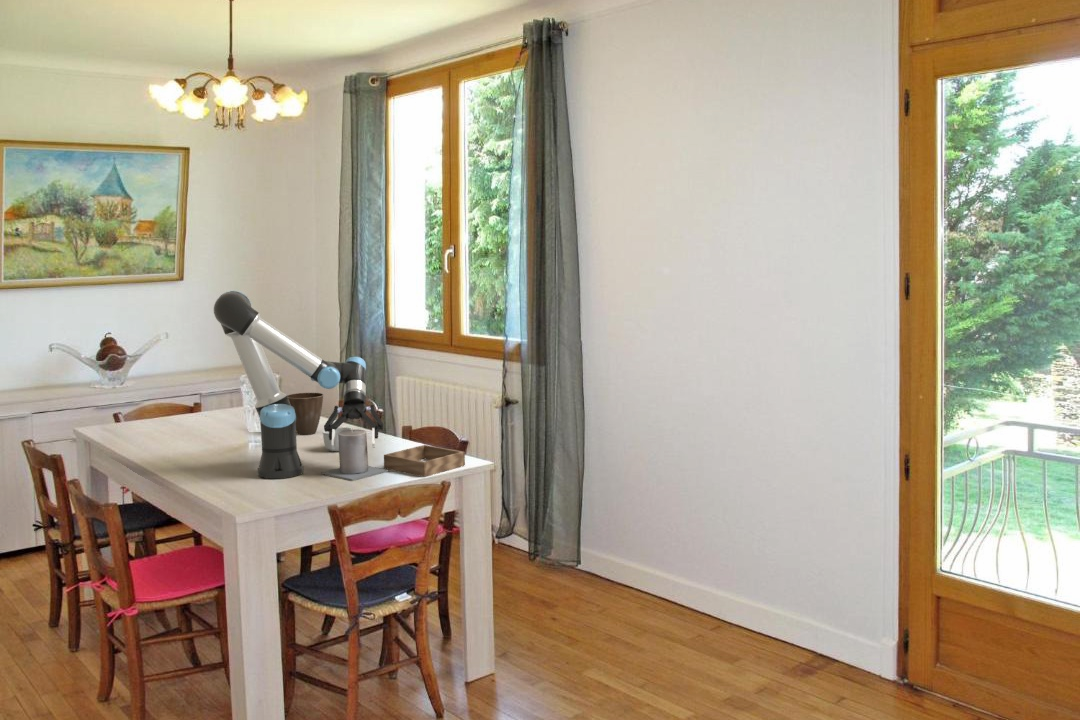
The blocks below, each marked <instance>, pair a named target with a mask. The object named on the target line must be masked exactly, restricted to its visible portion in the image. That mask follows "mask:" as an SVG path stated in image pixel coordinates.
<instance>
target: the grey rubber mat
mask: <svg viewBox="0 0 1080 720" xmlns="http://www.w3.org/2000/svg"><path fill="white" fill-rule="evenodd" d="M388 472H389V470H388V469H384V468H380V467H376V466H369V465H368V471H366V472H364V473H357V474H343V473H341V472H340V467H338V468H334V469H330V470H329V469H328V470H326V471H322V472H321V475H323V474H325V475H324V476H327V475H330V476H329V477H332V476H334V477H333V478H337V477H338V478H337V479H341V478H342V480H347V481H351V482H354V481H357V480H361V479H365V478H368V477H372V476H376V475H379V474H384V473H388Z"/></svg>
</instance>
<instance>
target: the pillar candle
mask: <svg viewBox="0 0 1080 720" xmlns="http://www.w3.org/2000/svg"><path fill="white" fill-rule="evenodd" d="M367 439H368V437H367V430H364V429H356V428H355V429H353V428H351V430H344V431H341V432H339V433H338V440H339V451H338V455H339V457H338V459H339V468H340V472H341V473H343V474H357V473H364V472H366V471H368V466H369V460H368V459H369V458H368V457H369V454H368V440H367Z"/></svg>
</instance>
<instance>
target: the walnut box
mask: <svg viewBox="0 0 1080 720" xmlns="http://www.w3.org/2000/svg"><path fill="white" fill-rule="evenodd" d="M423 460H424V461H423ZM464 465H465V466H466V454H465V451H464V450H463V451H462V450H457V449H451V448H444V447H440V446H439V447H438V446H433V445H427V444H423V445H419V446H414V447H410V448H406V449H403V450H398V451H394V452H390V453H386V454H383V469H386V470H388V471H393V472H397V473H402V474H408V475H413V476H418V477H422V478H426V477H429V476H433V474H434V475H437V474H440V472H441V473H443V472H448V471H451V470H455V469H458V468H462V467H464ZM461 466H462V467H461ZM447 470H448V471H447ZM436 473H437V474H436Z"/></svg>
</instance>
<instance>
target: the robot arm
mask: <svg viewBox="0 0 1080 720" xmlns="http://www.w3.org/2000/svg"><path fill="white" fill-rule="evenodd" d="M213 314H214V317H215V320H217V322H218V323H219V324H220V325H221V328H222V330H223V332H224V334H225V336H226V337H229V338H230V339H231V341H232V342H233V345H234V348H235V350H236V352H237V355H238V357H239V360H240V362H241V365H242V367H243V370H244V372H245V374H246V377H247V379H248V381H249V384H250V386H251V389H252V391H253V394H254V395H255V399H256V403H255V404H254V405H255V406H254V407H255V409H256V412H257V414H258V418H259V421H260V435H261V436H260V437H261V438H260V439H261V456H260V459H259V463H258V467H257V476H258V477H259V476H260V477H259V478H261V477H264V478H263V479H268V478H280V479H287V477H289V478H294V477H297V475H298V476H301V473H302V474H303V473H304V465H303V464H302V460H301V458H300V456H299V452H298V448H297V445H298V444H297V431H296V413H295V409H294V408H293V407H292V406H291V404H290V402H289V399H288V397H287V395H288V394H287V393H285V392H283V391H281V389H280V387H279V384H278V382H277V380H276V377H275V373H274V372H273V369H272V367H271V365H270V362H269V359H268V357H267V354H266V353H265V350H264V348H265V349H267V350H268V351H269V352H271V353H273V354H274V355H276V356H278V357H279V358H280V359H282V360H283V361H285V362H286V363H288V364H289V365H291V366H293V367H294V368H295V369H297V370H299V371H300V372H301V373H303V374H305V375H306V376H307V377H309V378H310V381H312V382H316V383H318V385H319V386H320V387H322V388H324V389H326V390H331V389H335V388H336V387H337V386H338V385H339V384H343V385H344V387H343V389H344V391H343V406H342V407H339V406H338V405H334V408H333V411H332V413H331V414H330V416H329V418H328V419H327V420H326V422H325V424H324V425H323V429H324V430H325V432H327V431H328V432H329V440H332V449H335V430H336V429H337V428H339V427H341V425H342V424H343V423H344V422H346V421H348V420H359V419H361V420H362V421H364V422H365V423H366V424H367V425H368V426H369V427H370V428H371V433H372V434H371V444H372V445H371V447H372V448H373V449H375V448H376V447H375V446H376V445H375V444H376V441H375V440H376V439H378V438H379V431H380V430H381V431H383V430H384V423H383V422H382V420H381V418H380V416H379V415H378V413H377V412H376V410H375V406H374V404H370V406H366V398H367V397H366V393H367V392H366V390H367V389H366V388H367V386H366V385H367V363H366V361H365V360H364V358H361V357H360V356H353V357H351V356H349V357H348V358H347V359H346V360H345V362H338V361H327V360H324V359H323V358H321V357H319V355H317V354H315V353H314V352H312V351H311V350H309V349H308V348H306V347H305V346H303V344H300V343H299V342H297V341H296V340H295V339H293V338H292V337H290V336H289V335H287V334H286V333H284V332H283V331H282V330H280V329H278V328H277V327H275V326H274V325H272V324H271V323H269V322H268V321H266V320H265V319H263V318H262V317H261V314H260V312H259V311H257V310H255V309H254V308H253V307H252V303H251V301H250V299H249V298H248V296H246V295H245V294H244V293H242V292H240V291H238V290H230V291H226V292H224V293H222V294H220V296H219V297H218V298H217V299H216V301H215V302H214V305H213ZM263 347H264V348H263ZM341 412H342V414H341ZM367 412H368V413H369V414H371V416H372V418H373V420H372V418H371V417H369V415H367V414H366V413H367ZM339 414H341V415H340V416H339V418H337V417H338V415H339ZM324 430H323V431H324ZM293 476H294V477H293Z"/></svg>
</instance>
